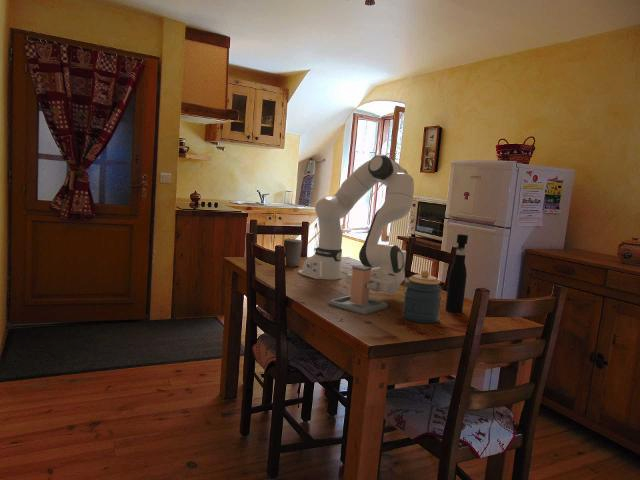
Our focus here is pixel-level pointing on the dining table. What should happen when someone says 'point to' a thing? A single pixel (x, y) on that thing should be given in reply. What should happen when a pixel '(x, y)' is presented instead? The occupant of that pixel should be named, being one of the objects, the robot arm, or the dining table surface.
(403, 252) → the syrup box
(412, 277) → the canister
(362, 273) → the tea tin
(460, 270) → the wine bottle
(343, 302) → the tray
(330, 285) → the dining table surface
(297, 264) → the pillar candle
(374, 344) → the dining table surface
